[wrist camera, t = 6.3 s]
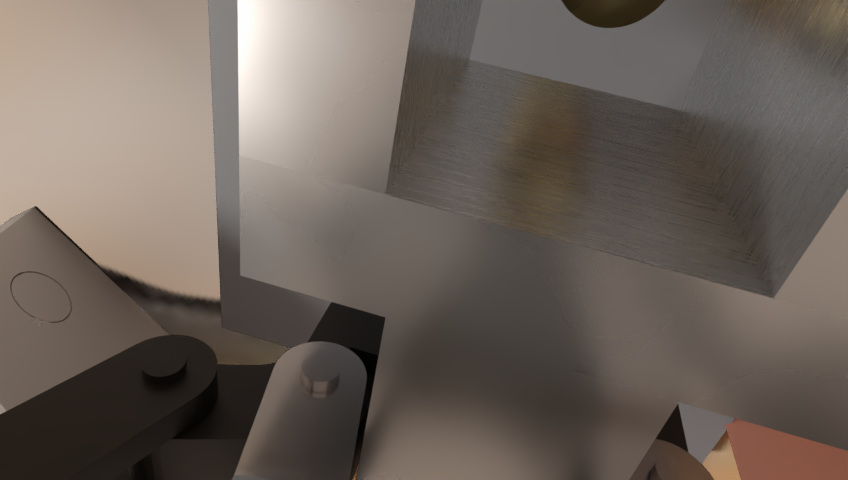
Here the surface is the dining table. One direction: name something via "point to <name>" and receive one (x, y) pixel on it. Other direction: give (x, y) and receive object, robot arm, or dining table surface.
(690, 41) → the board
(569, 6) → the knob
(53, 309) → the grey arched slotted block
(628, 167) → the grey long bar
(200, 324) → the dining table surface
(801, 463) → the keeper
